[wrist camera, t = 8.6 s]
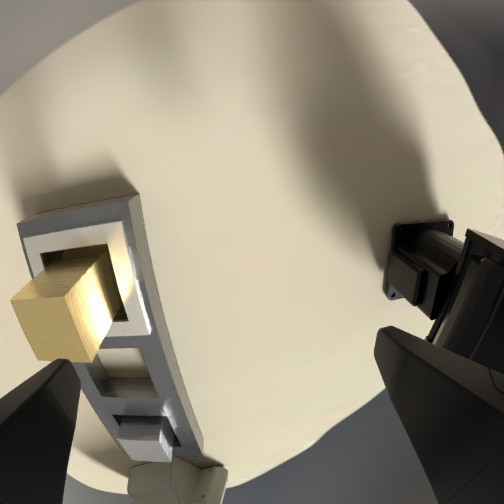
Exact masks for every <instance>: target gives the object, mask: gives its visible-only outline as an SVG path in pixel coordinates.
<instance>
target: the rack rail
mask: <svg viewBox="0 0 504 504" xmlns="http://www.w3.org/2000/svg"><path fill="white" fill-rule="evenodd" d="M17 227H18V232H19V236H20V240H21V243H22V247H23V251H24V254H25V258H26V261H27V264H28V268H29V271H30V274H31V277H32V279H33V278H35V277H36V276H37V275H38V274H39V273H40V272H41V271H43V270H44V269H45V268H46V267H47V266H48V265H50V264H51V263H52V262H53V261H54V260H55V259H57V258H58V257H59V256H60V255H61V250H64V249H71V248H78V247H85V246H92V245H99V244H106V243H107V244H108V248H109V252H110V256H111V260H112V265H113V268H114V272H115V276H116V280H117V283H118V287H119V291H120V294H121V298H122V301H123V302H122V304H121V306H120V308H119V310H118V311H117V313H116V315H115V317H114V319H113V321H112V323H111V325H110V327H109V329H108V331H107V333H106V335H105V337H104V339H103V341H102V343H101V345H100V347H99V349H110V348H140V350H141V353H142V356H143V358H144V361H145V364H146V366H147V369H148V372H149V374H150V377H151V378H108V376H107V374H106V372H105V370H104V368H103V366H102V364H101V362H100V359H99V357H98V355H97V353H96V355H95V357H94V359H93V361H92V363H84V362H72V364H73V366H74V368H75V370H76V372H77V374H78V376H79V378H80V380H81V389H82V391H83V392H84V394H85V396H86V398H87V399H88V401H89V403H90V404H91V406H92V407H93V409H94V411H95V412H96V414H97V415H98V417H99V418H100V420H101V421H102V423H103V424H104V426H105V427H106V429H107V430H108V432H109V433H110V435H111V436H112V437H113V439H114V440H115V442H116V443H117V444H118V446H119V447H120V448H121V450H122V451H123V452H124V454H127V452H126V451H125V449H124V448H123V447H122V445H121V444H120V442H119V441H118V440H117V437H118V433H119V429H120V425H121V421H122V417H123V415H137V416H167V417H168V419H169V421H170V423H171V425H172V427H173V430H174V436H173V447H172V457H203V436H202V434H201V431H200V428H199V426H198V423H197V420H196V417H195V415H194V412H193V409H192V406H191V403H190V400H189V397H188V394H187V391H186V388H185V385H184V382H183V379H182V376H181V373H180V370H179V366H178V363H177V360H176V356H175V353H174V350H173V346H172V343H171V339H170V335H169V332H168V328H167V324H166V321H165V317H164V313H163V309H162V305H161V301H160V297H159V293H158V288H157V284H156V280H155V275H154V271H153V266H152V261H151V256H150V252H149V247H148V241H147V236H146V231H145V225H144V219H143V214H142V208H141V201H140V195H139V194H136V195H130V196H124V197H118V198H112V199H107V200H101V201H96V202H91V203H86V204H81V205H76V206H71V207H66V208H61V209H57V210H52V211H48V212H43V213H39V214H35V215H33V216H31V217H29V218H27V219H25V220H23V221H21V222H19V223H17ZM127 455H128V454H127Z"/></svg>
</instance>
